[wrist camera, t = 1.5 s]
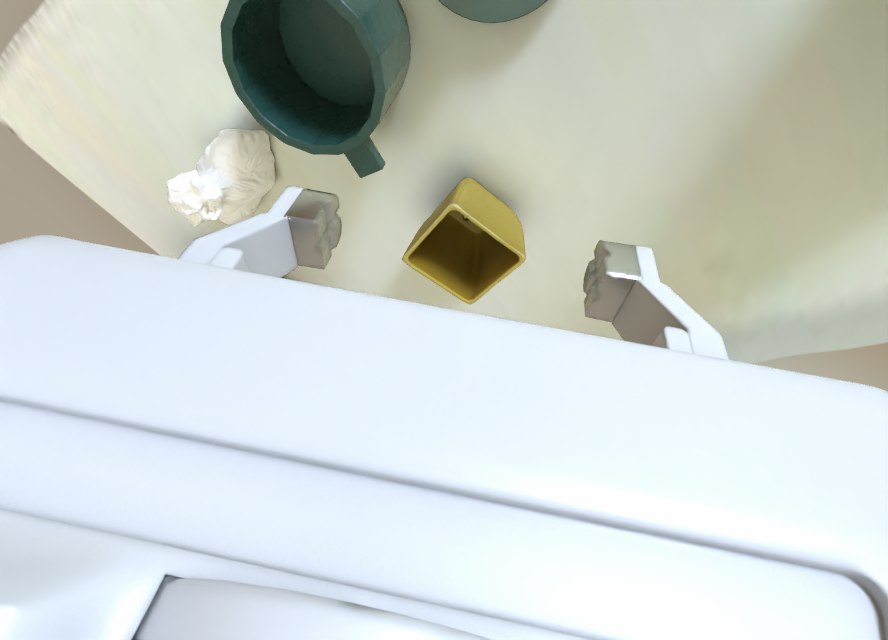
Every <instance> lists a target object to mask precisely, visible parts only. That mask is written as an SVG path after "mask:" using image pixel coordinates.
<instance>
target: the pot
mask: <svg viewBox="0 0 888 640" xmlns="http://www.w3.org/2000/svg"><path fill="white" fill-rule="evenodd" d="M221 38H222V55H223V62H224V64H225V67H226V69H227V72H228V75H229V77H230V80H231V82H232V85H233V87H234V90H235V92H236V94H237V96H238V97H239V98H240V100H241V101H242V102H243V103H244V105H245V106H246V107H247V109H248V110H249V111H250V113H251V114H252V115H253V117H254V118H255V119H256V121H257V122H259V124H260V125H262V126H263V127H264V128H265V129H267V130H268V131H269V132H271V133H272V134H273V135H274V136H276V137H277V138H278V139H280V140H281V141H282V142H283V143H285V144H288V145H290V146H293V147H295V148H298V149H301V150H303V151H306V152H308V153H311V154H329V155H339V154H342V153H344V154H345V155H346V157H347V158H348V160H349V161H350V163H351V164H352V166H353V167H354V169H355V171H356V172H357V174H358V175H359V177H360V178H362V177H365V176H367V175H370V174H372V173H374V172H377V171H379V170H382V169H383V167H384V166H385V162H384V160H383V158H382V157H381V155H380V153H379V152H378V150H377V148H376V147H375V145H374V143H373V142H372V140H371V138H370V137H369V136H370V134H371V133H372V132H373V131H374V129H375V128H376V127H377V125H378V124H379V123H380V121H381V119H382V118H383V116H384V115H385V113H386V111H387V110H388V108H389V107H390V105H391V103H392V102H393V100H394V98H395V97H396V95H397V94H398V92H399V90H400V89H401V87H402V85H403V83H404V80H405V77H406V73H407V70H408V66H409V61H410V36H409V30H408V25H407V22H406V18H405V15H404V12H403V10H402V7H401V5H400V3H399V1H398V0H229V3H228V6H227V8H226V11H225V14H224V16H223V19H222V22H221Z"/></svg>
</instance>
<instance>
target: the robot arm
mask: <svg viewBox="0 0 888 640" xmlns="http://www.w3.org/2000/svg"><path fill="white" fill-rule="evenodd" d="M338 208H339V200H338V197H337V195H336V194H331V193H326V192H320V191H315V190H310V189H304V188H299V187H293V186H289V187H287V188H286V189H285V190H284V191H283V193H282V194H281V195H280V197H279V198H278V199H277V200H276V202H275V203H274V204H273V206H272V207H271V208H270V210H269V211H268V212H267V213H266V214H264V213H261V214H258V215H256V216H253V217H251V218H248V219H245V220H243V221H240V222H238V223H235V224H233V225H230V226H228V227H225V228H223V229H220V230H218V231H215V232H212V233H210V234H207V235H205V236H202V237H200V238H197V239H195V240H193V241H192V243H191V244H190V245H189V246H188V247H187V248H186V249H185V250H184V252H183V253H182V254H181V255H180V256H179V257H178V258H177V259H175V258H170V257H164V256H159V255H153V254H148V253H142V252H137V251H131V250H126V249H120V248H115V247H110V246H104V245H98V244H93V243H88V242H82V241H78V240H73V239H68V238H63V237H58V236H50V235H39V236H33V237H28V238H24V239H20V240H16V241H11V242H8V243H4V244H1V245H0V640H888V392H886V391H884V390H882V389H879V388H876V387H873V386H868V385H863V384H858V383H853V382H848V381H842V380H837V379H831V378H825V377H820V376H814V375H809V374H803V373H798V372H792V371H786V370H781V369H776V368H770V367H764V366H759V365H754V364H748V363H743V362H737V361H732V360H729V358H728V355H727V352H726V349H725V346H724V343H723V339H722V336H721V335H720V334H719V333H718V332H717V331H716V330H715V329H714V328H713V327H712V326H711V325H709V324H708V323H707V322H706V321H705V320H704V319H703V318H702V317H701V316H700V315H699V314H698V313H696V312H695V311H694V310H693V309H692V308H691V307H690V306H689V305H688V304H687V303H686V302H684V301H683V300H682V299H681V298H680V297H679V296H678V295H677V294H676V293H675V292H674V291H672V290H671V289H670V288H669V287H668V286H667V285H666V284H663V283H660V279H659V275H658V270H657V266H656V262H655V258H654V253H653V249H651V248H650V247H644V246H637V245H627V244H621V243H615V242H608V241H602V240H600V241H599V242H598V244H597V246H596V248H595V250H594V254H595V259H593V260H592V261H590V262H589V264H588V267H587V269H586V273H585V277H584V284H583V289H584V292H585V293H586V294H587V296H586V298H585V300H584V307H585V317H590V318H594V319H599V320H604V321H609V322H613V323H612V324H613V325H614V327H615V328H616V330H617V331H618V333H619V334H620V335H621V337H622V338H623V340H624V341H623V340H618V339H612V338H607V337H601V336H596V335H590V334H585V333H579V332H574V331H568V330H563V329H558V328H552V327H547V326H541V325H536V324H530V323H525V322H519V321H514V320H508V319H503V318H497V317H492V316H486V315H481V314H475V313H470V312H465V311H459V310H454V309H448V308H443V307H437V306H432V305H426V304H421V303H415V302H410V301H405V300H399V299H394V298H388V297H383V296H377V295H372V294H366V293H361V292H355V291H350V290H344V289H339V288H334V287H328V286H323V285H317V284H312V283H306V282H301V281H295V280H290V279H284V278H282V277H283V276H285V275H286V274H288V273H289V272H291V271H292V270H294V269H295V268H297V267H298V265H299V266H306V267H312V268H319V269H325V267H326V265H327V263H328V261H329V259H330V258H331V249H333V248H335V247H336V246H337V244H338V242H339V240H340V236H341V226H342V225H341V218H340V217H339V216H338V214H337V213H336V212H337V210H338Z"/></svg>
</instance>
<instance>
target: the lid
mask: <svg viewBox="0 0 888 640" xmlns="http://www.w3.org/2000/svg"><path fill="white" fill-rule="evenodd" d="M439 1H440V2H441V3H442V4H443V5H444V6H446V7H447V8H448V9H450V10H451V11H453V12H454V13H456V14H458V15H460V16H462V17H465V18H467V19H470V20H473V21H478V22H484V23H498V22H506V21H510V20H514V19H517V18H519V17H522V16H524V15H526V14H528V13H530V12H532V11H534V10H535V9H537V8H539V7H540V6H541V5H542V4H544V3H545V2H546V1H547V0H439Z"/></svg>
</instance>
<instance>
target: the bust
mask: <svg viewBox="0 0 888 640" xmlns="http://www.w3.org/2000/svg"><path fill="white" fill-rule="evenodd" d="M274 163H275V159H274V156H273V154H272V152H271V149H270V143H269V136H268V134H267V133H266V132H265V131H262V130H253V131H246V130H243V129H235V128H234V129H223V130H221V131H220V132H219V135H218V138H216V139H214V140H213V141H212V142H211V144H210V145H209V146H207V147H206V148H205V151H204V153H203V155H202V156H201V157H200V160H199V162H198V163H197V168H196V169H197V171H196V170H194V171H191V172H188V173H184V174H179V175H178V176H176V177H175V178H174V179H170V180H168V182H167V188H168V202H169V204H170V205H171V206H172V207H173V208H174V209H176V210H177V211H178V212H180V213H181V214H182V215H183V216H184V217H185V218H186V219H187V220H189V221H190V222H191V225H192V226H193V227H197V226H198V224H199V223H201V222H204V221H205V220H217V219H220V220H221V221H222V222H223V223H226V224H228V225H233V224H235V223H238V222H240V221H243V220H245V219H248V218H251V217H252V216H253V214H254V212H255V211H256V209H257V207H258V206H259V205H260V202H261V199H262V197H263V196H264V195H265V194H266V193H267V192H268V191H269V190H270V189H271V188H272V187H273V186H274V183H275V168H274Z"/></svg>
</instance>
